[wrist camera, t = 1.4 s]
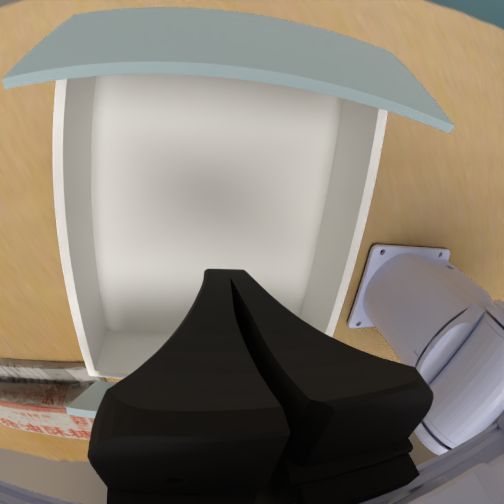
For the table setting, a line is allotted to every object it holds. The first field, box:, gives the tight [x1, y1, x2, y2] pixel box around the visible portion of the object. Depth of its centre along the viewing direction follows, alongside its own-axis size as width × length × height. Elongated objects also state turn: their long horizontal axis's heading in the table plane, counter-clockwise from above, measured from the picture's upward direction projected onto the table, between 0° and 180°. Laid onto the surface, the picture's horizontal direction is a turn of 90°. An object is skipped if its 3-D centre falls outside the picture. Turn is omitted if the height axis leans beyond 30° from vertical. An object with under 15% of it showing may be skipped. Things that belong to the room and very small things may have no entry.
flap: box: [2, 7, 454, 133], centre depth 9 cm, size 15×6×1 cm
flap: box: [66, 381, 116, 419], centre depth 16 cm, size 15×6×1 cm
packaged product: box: [0, 358, 106, 440], centre depth 23 cm, size 18×5×10 cm
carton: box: [53, 74, 388, 379], centre depth 17 cm, size 16×21×5 cm
